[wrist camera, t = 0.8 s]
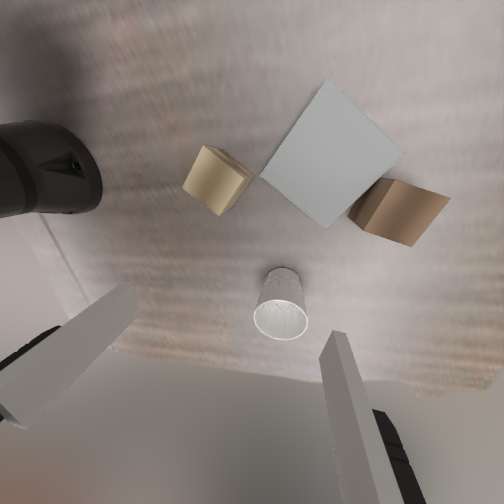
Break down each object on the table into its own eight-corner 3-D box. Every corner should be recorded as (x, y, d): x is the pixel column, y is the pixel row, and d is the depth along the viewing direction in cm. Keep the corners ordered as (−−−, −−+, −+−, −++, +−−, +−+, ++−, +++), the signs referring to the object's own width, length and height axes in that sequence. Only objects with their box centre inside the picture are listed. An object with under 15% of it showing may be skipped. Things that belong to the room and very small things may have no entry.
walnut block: (347, 216, 28) (363, 230, 22) (369, 176, 25) (395, 179, 19) (384, 228, 28) (411, 247, 22) (411, 189, 25) (450, 198, 19)
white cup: (288, 257, 33) (288, 291, 24) (311, 288, 35) (318, 330, 26) (254, 276, 36) (243, 312, 27) (277, 303, 38) (273, 346, 29)
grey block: (263, 174, 28) (259, 175, 25) (321, 90, 23) (327, 77, 19) (320, 222, 30) (325, 229, 26) (388, 154, 24) (405, 152, 21)
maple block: (204, 183, 30) (182, 187, 24) (222, 149, 28) (203, 145, 21) (233, 206, 31) (219, 216, 25) (254, 175, 28) (243, 178, 22)
